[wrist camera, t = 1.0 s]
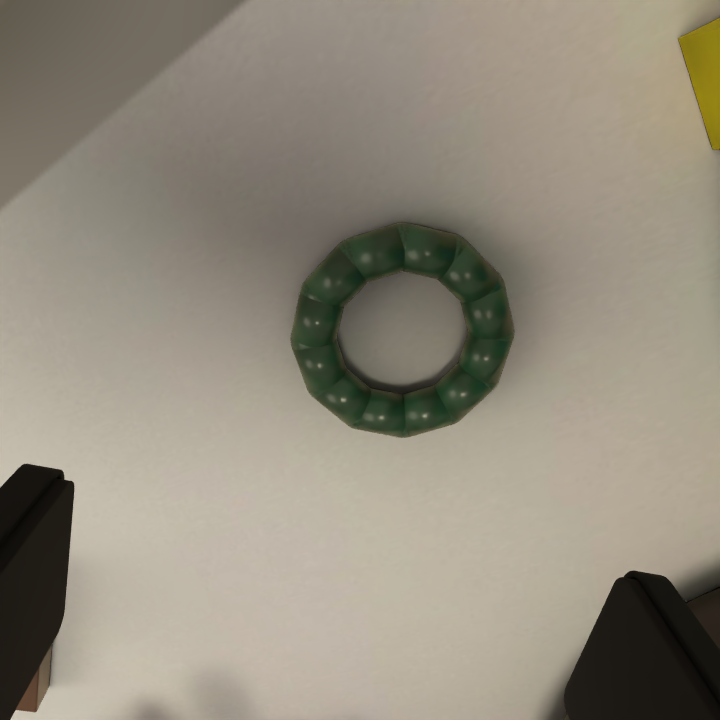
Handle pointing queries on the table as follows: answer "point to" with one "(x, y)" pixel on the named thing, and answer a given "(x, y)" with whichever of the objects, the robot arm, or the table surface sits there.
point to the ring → (383, 258)
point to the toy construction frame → (705, 74)
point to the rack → (37, 687)
